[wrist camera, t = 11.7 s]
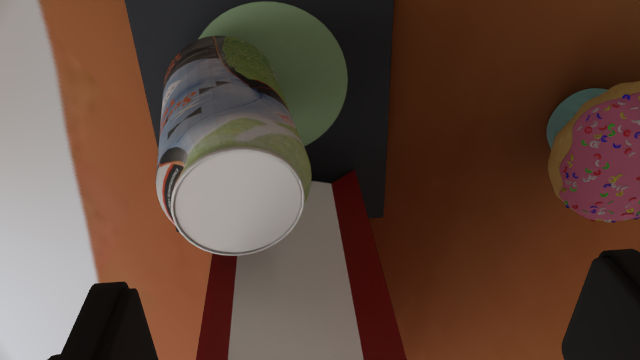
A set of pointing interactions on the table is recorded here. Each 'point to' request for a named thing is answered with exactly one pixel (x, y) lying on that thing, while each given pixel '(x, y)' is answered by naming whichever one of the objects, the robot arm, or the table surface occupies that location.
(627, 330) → the robot arm
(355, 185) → the book
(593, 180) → the cupcake
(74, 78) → the table surface
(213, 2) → the desk mat
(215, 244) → the beverage can
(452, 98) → the table surface
